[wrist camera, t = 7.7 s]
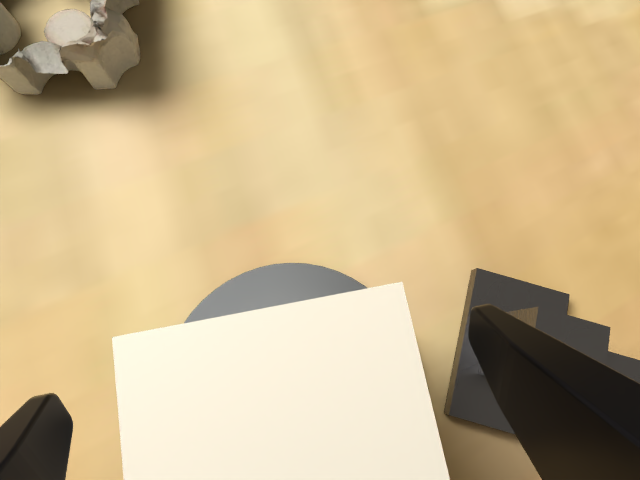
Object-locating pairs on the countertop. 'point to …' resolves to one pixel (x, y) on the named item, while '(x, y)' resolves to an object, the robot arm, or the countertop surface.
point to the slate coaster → (273, 289)
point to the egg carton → (72, 47)
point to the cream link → (280, 395)
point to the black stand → (536, 310)
